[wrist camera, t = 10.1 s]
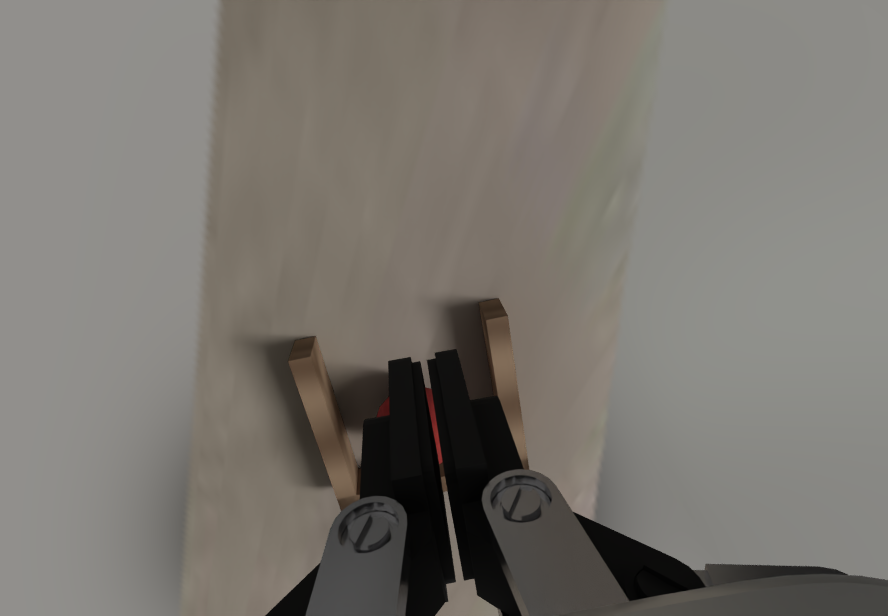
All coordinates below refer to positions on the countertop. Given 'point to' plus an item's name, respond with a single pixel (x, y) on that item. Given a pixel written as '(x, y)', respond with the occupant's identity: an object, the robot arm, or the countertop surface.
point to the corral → (329, 420)
